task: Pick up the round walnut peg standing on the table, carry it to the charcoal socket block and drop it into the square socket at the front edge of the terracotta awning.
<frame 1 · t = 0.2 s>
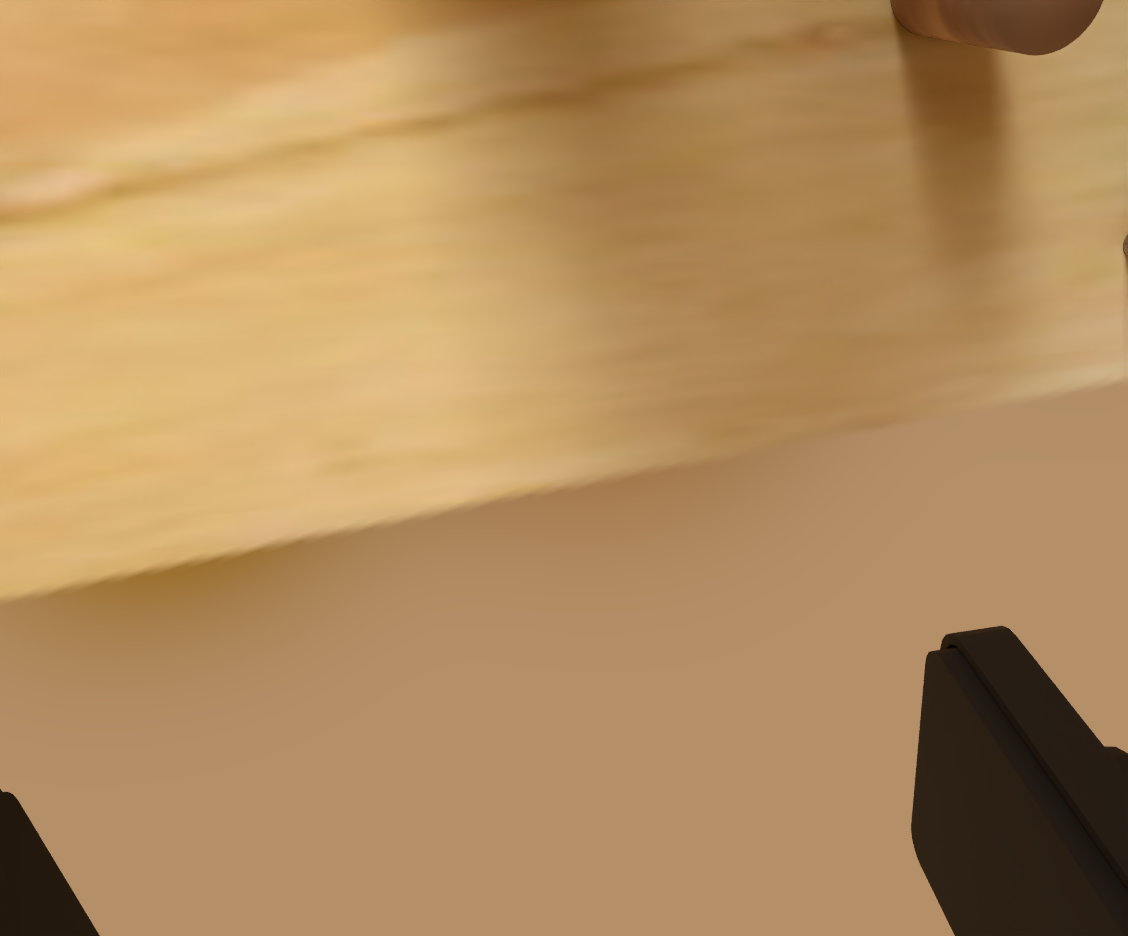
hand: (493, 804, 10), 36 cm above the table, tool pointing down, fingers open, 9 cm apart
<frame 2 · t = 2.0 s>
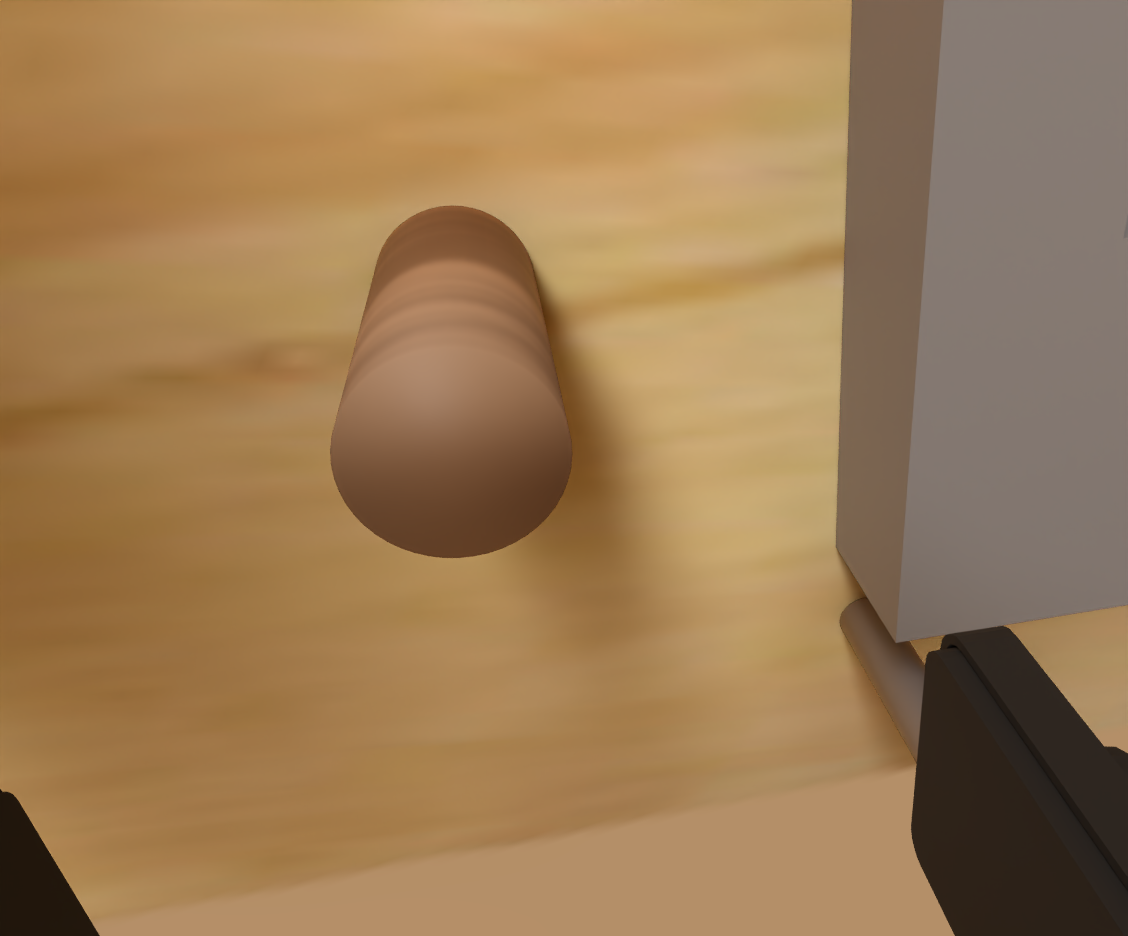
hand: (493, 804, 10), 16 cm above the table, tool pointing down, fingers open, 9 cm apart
walnut peg: (455, 286, 23), on the table
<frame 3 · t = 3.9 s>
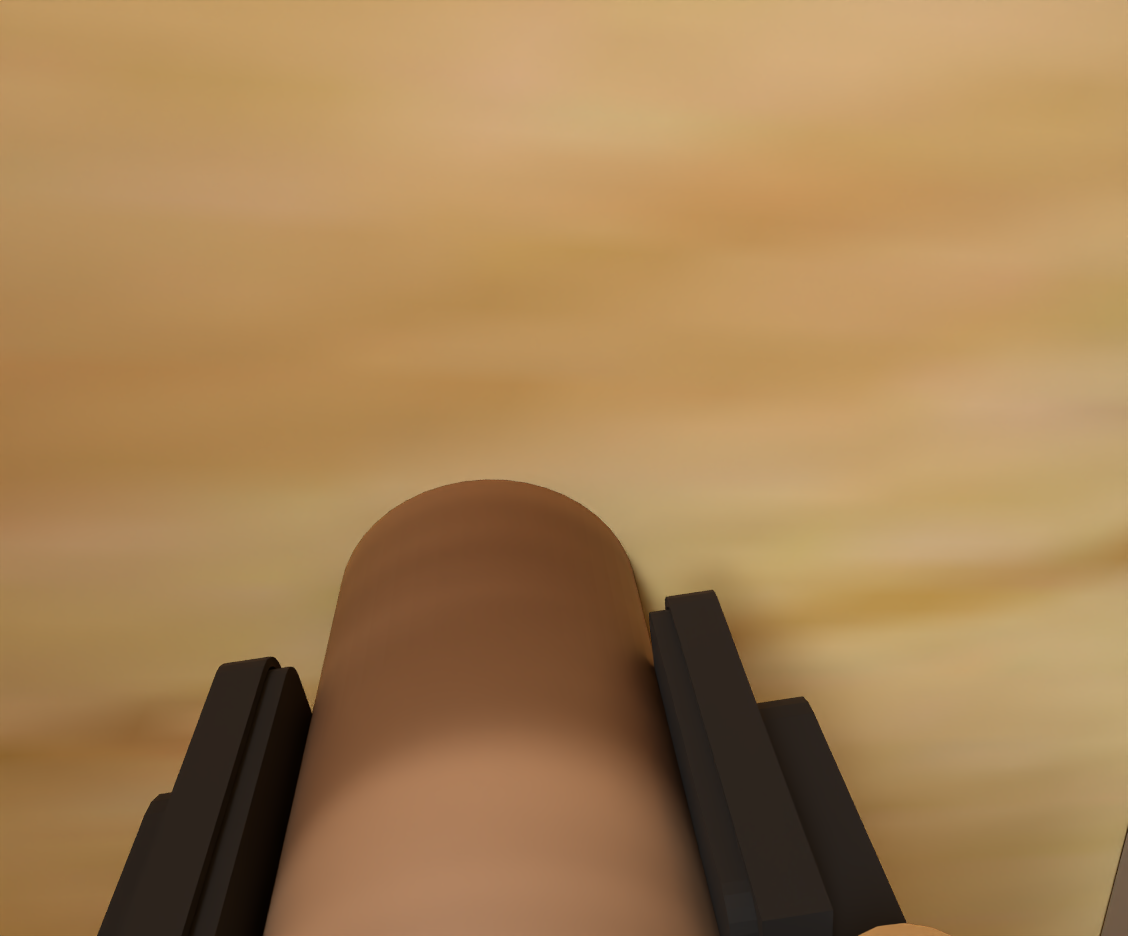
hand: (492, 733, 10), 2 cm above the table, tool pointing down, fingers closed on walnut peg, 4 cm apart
walnut peg: (490, 607, 12), on the table, touching gripper
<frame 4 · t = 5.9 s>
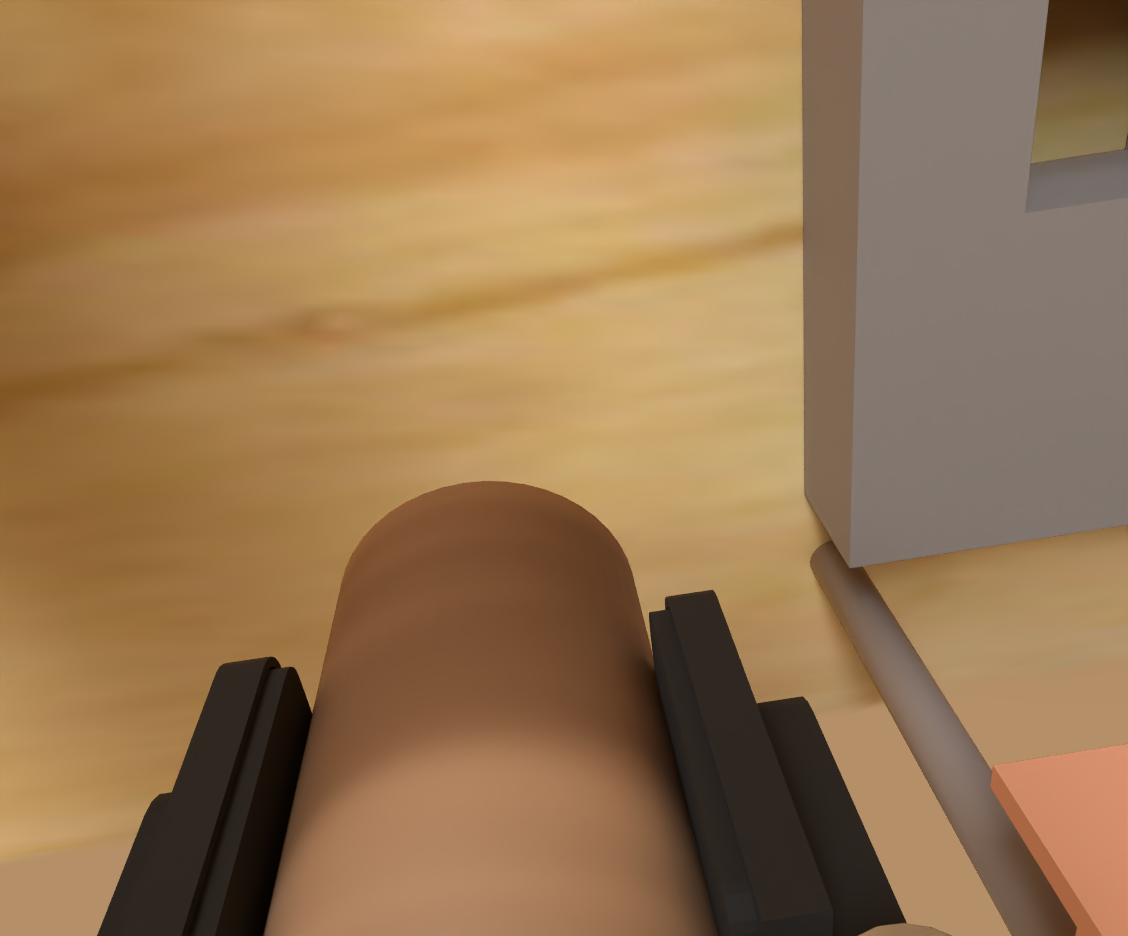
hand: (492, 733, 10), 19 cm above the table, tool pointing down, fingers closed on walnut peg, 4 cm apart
socket block: (1047, 65, 26), on the table
walnut peg: (489, 609, 13), point 17 cm above the table, touching gripper
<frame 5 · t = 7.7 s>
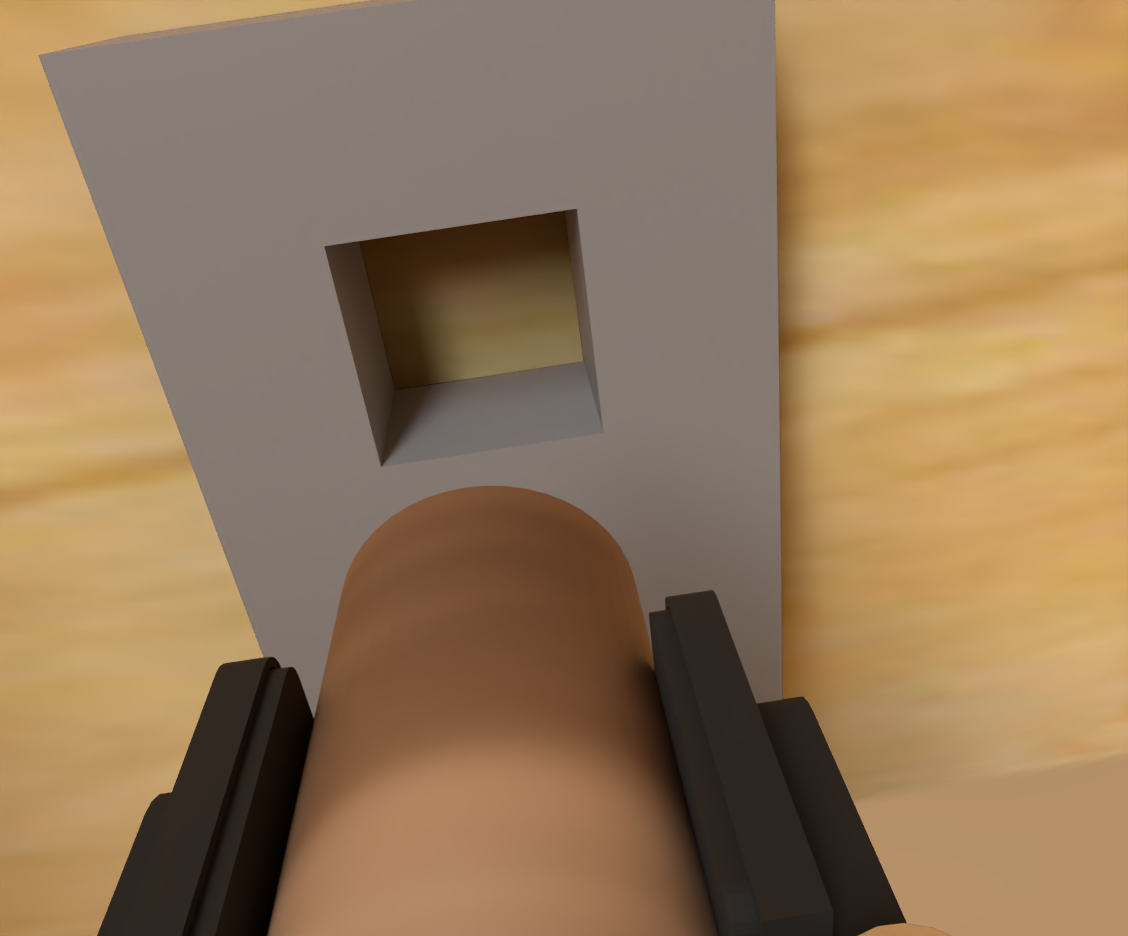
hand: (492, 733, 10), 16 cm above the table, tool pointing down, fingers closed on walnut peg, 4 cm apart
socket block: (472, 284, 25), on the table
walnut peg: (491, 613, 13), point 14 cm above the table, touching gripper
when the fingers open (5 cm above the table, at t = 10.2 s): walnut peg drops 3 cm, resting in socket block.
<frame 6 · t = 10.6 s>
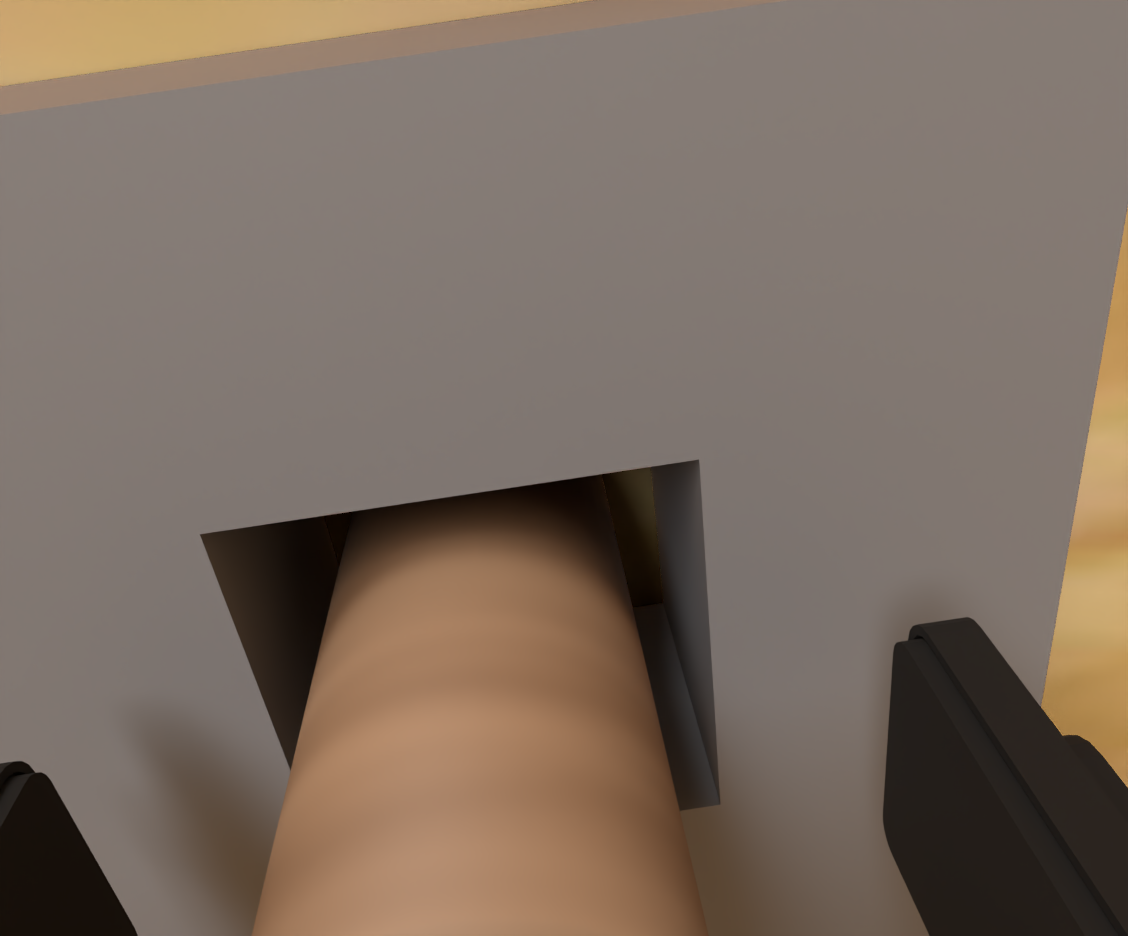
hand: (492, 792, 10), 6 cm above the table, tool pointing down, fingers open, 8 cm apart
socket block: (488, 497, 15), on the table
walnut peg: (482, 499, 15), resting in socket block
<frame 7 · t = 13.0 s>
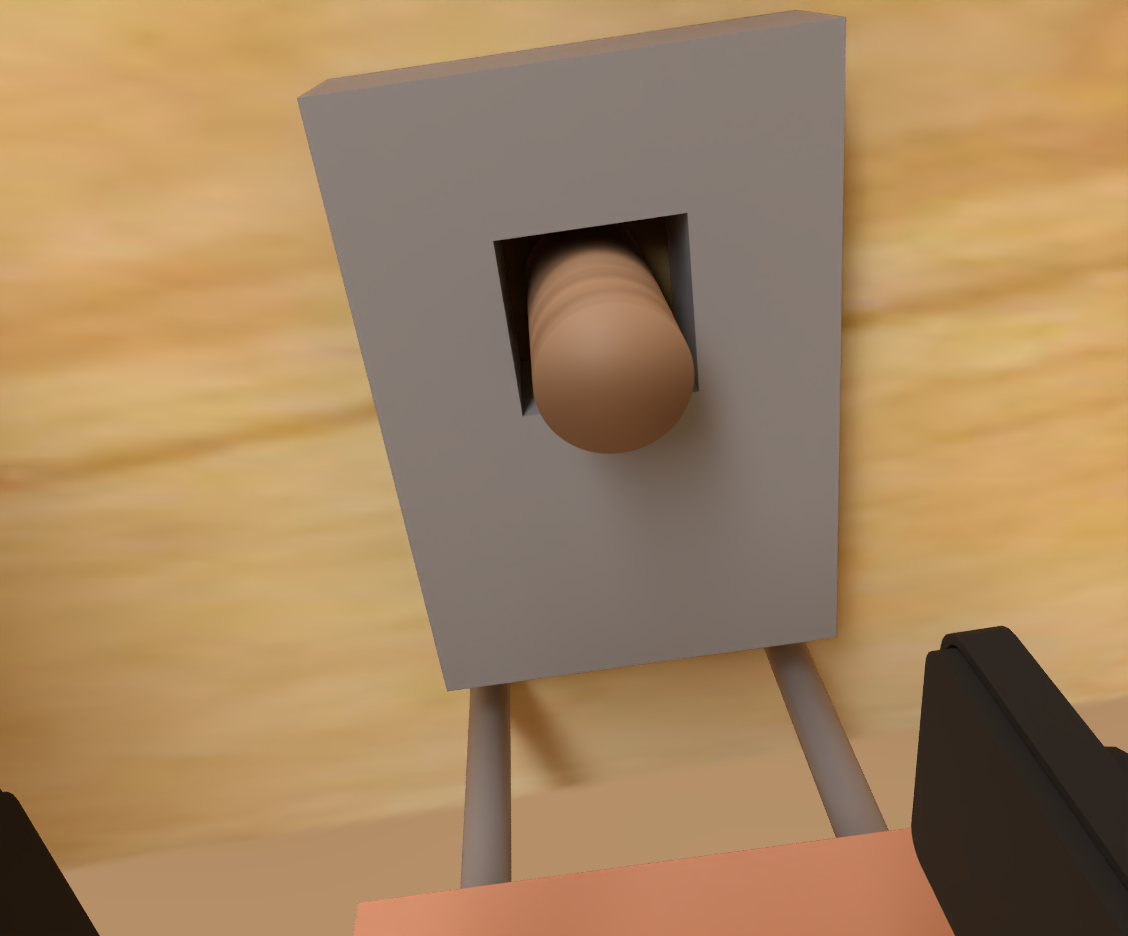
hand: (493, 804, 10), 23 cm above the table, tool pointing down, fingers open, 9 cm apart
socket block: (588, 274, 31), on the table
walnut peg: (585, 276, 31), resting in socket block
awning: (664, 794, 29), on the table
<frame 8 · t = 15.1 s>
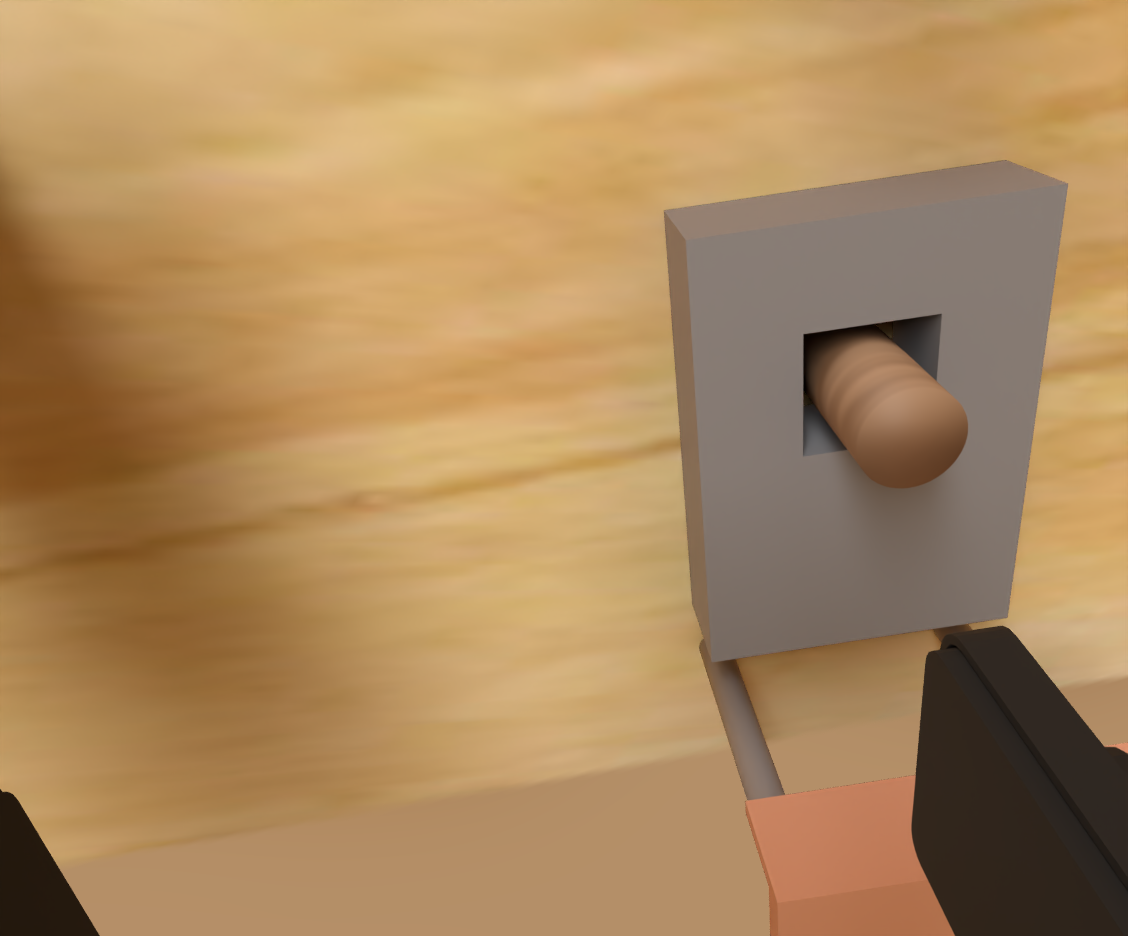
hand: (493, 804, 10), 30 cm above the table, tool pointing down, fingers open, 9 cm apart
socket block: (832, 346, 41), on the table
walnut peg: (829, 347, 41), resting in socket block
awning: (901, 734, 39), on the table
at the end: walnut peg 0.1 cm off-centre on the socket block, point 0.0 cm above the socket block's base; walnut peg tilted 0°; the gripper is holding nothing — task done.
